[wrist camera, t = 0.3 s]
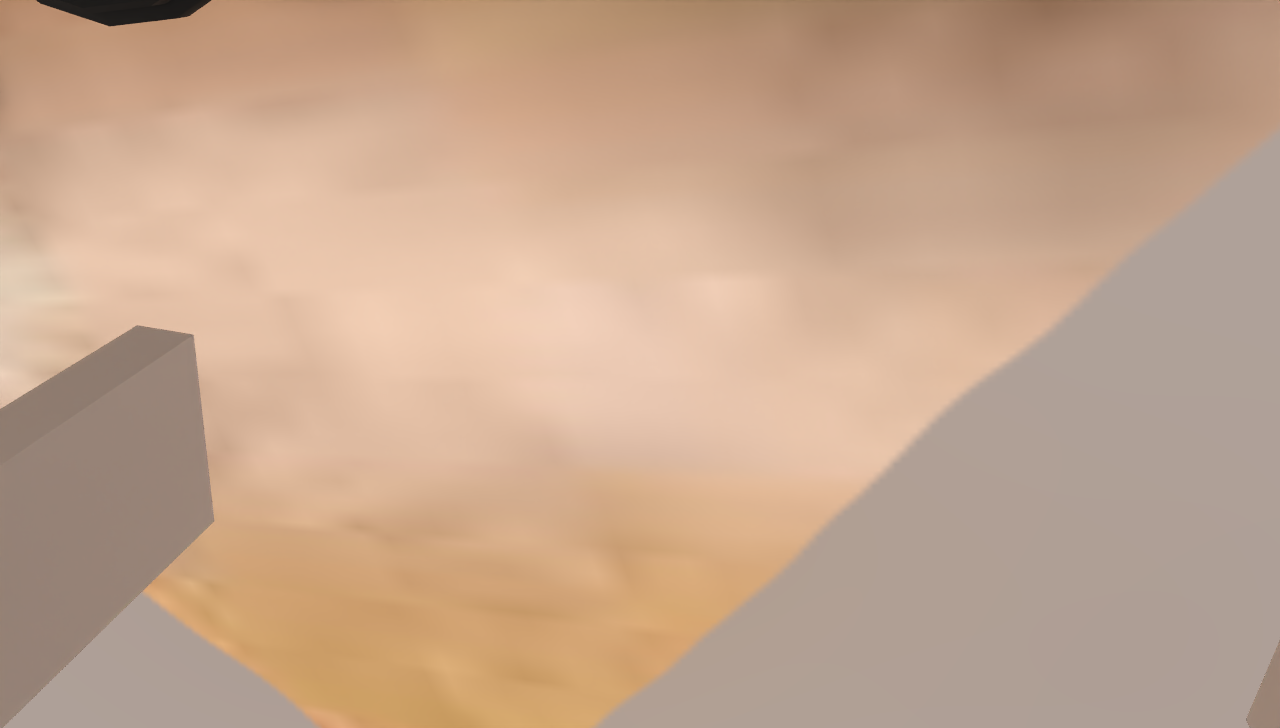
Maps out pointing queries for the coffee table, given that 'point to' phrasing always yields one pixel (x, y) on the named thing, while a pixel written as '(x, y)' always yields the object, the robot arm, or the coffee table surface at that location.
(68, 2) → the coffee cup
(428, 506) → the coffee table surface
